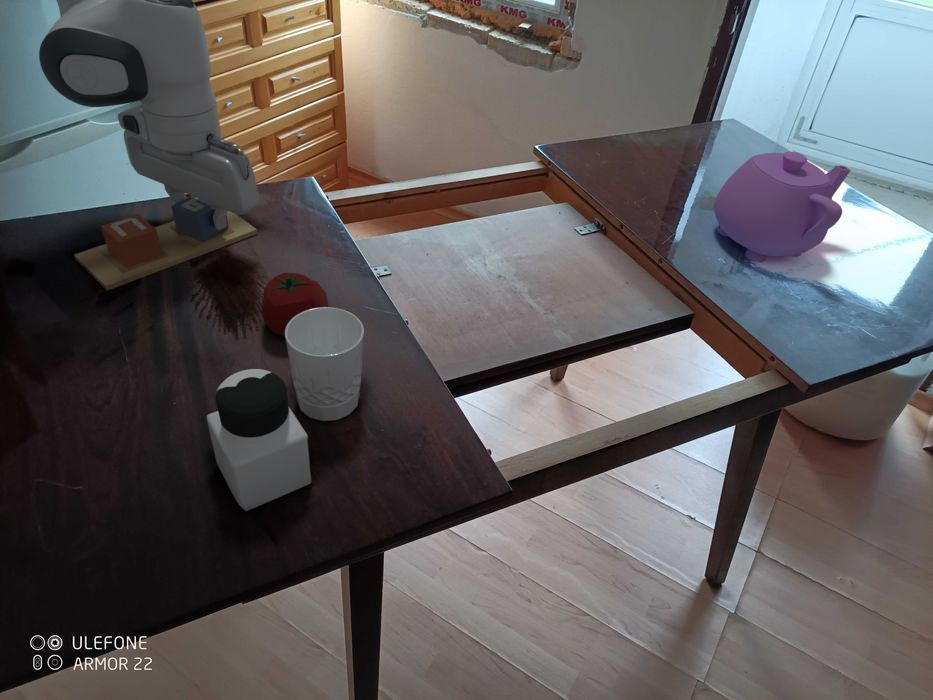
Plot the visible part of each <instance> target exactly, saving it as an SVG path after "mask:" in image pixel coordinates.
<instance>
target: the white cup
mask: <svg viewBox="0 0 933 700" xmlns="http://www.w3.org/2000/svg"><path fill="white" fill-rule="evenodd" d="M364 336H365V328H364V325H363V323H362V321H361V320H360V318H358V316H356V315H355V314H353V313H352V312H350V311H348V310H345V309H342V308H338V307H332V306H331V307H330V306H328V307H320V308H313V309H309V310H306V311H304V312H301V313H299V314H298V315H296V316H295V317H293V318H292V319H291V320H290V321H289V323H288V324H287V326H286V329H285V337H284V338H285V343H286V349H287V355H288V362H289V368H290V372H291V373H290V374H291V378H292V383H293V384H292V385H293V388H294V390H295V395H296V401H297V404H298V407H299V410H300V411H301V412H302V413H303V414H304V415H306V416H307V417H308V418H310V419H314V420H317V421H321V422H331V421H338V420H341V419H343V418H345V417H347V416H350V414H352V412H353V411H355V409H356V408H357V407H358V405H359V401H360V400H359V399H360V395H361V394H360V393H361V392H360V391H361V385H362V374H363V373H362V372H363V362H364V361H363V356H364V339H365V337H364Z"/></svg>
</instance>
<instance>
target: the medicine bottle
mask: <svg viewBox="0 0 933 700" xmlns="http://www.w3.org/2000/svg"><path fill="white" fill-rule="evenodd" d="M288 396H289V395H288V390H287V384H286V382H285V381H284V380H283V379H282V377H281V376H279V375H278V374H276V373H274V372H272V371H270V370H266V369H261V368H249V369H244V370H240V371H238V372H235V373H232V374H231V375H229V376H228V377H227V378H225V379H224V380H223V381H222V382H221V383H220V384H219V386H218V387H217V389H216V392H215V402H216V403H215V404H216V407H217V411H213V412H211V413H209V414H207V415H206V421H207V426H208V431H209V435H210V439H211V444H212V449H213V453H214V458H215V461H216V465H217V467H218V468H219V470H220V472H221V475H222V477H223V478H224V481H225V482H226V484H227V486H228V488H229V491H230V492H231V494H232V496H233V498H234V500H235V502H236V503H237V504H238V505H239V506H240V508H242V510H244V512H248V511H251V510H253V509H256V508H258V507H260V506H262V505H265V504H267V503H269V502H272V501H274V500H276V499H278V498H281V497H283V496H285V495H288V494H291V493H292V492H295V491H297V490H299V489H301V488H304V487H307V486H308V485H310V484H311V483H312V481H313V479H312V467H311V455H310V443H309V435H308V433H307V432H306V431H305V429H304V428H303V426H302V424H301V423H300V421H299V420H298V419H297V416H296V415H295V413H294V412H293V411H292V409H291V408H290V405H289V399H288V398H289V397H288Z"/></svg>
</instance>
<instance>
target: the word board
mask: <svg viewBox="0 0 933 700" xmlns="http://www.w3.org/2000/svg"><path fill="white" fill-rule="evenodd" d="M227 220H228V226H229V227H228V228H227V229H225V230H223V231H222V232H220V233H218V234H216V235H215V236H213V237H211V238H210V239H208V240H206V241H204V242H201V241H199V240H197V239H194V238H192V237H190V236H187V235H185V234H183V233H181V232H178V231H177V230H176V225H175V220H173V221H170V222H167V223H164V224H161V225H158V226H154V228H155V229H156V230H157V234H158V239H159V243H160V247H161V251H162V255H161V256H158V257H155V258H152V259H150V260H147V261H144V262H141V263H139V264H136V265H133V266H130V267H128V268H126V267H125V266H124V265H123V264H121V263H120V262H119V261H118V260H117V259H116V258H115V257H114V256H113V255H112V254H111V253H110V252H109V251H108V248H107V245H106V243H105V244H101V245H98V246H95V247H93V248H90V249H86V250H84V251H81V252H78V253H75V254H73V255H74V259H75V261H76V262H78V263H79V265H80V266H82V268H84V270H86V271H87V272H88V273H89V275H91V276H92V277H93V279H95V280H96V281H97V282H98V283H99V284H100V285H101V286H102V287H103V288H104V289H105V291H110V290H113V289H116V288H118V287H121V286H124V285H126V284H128V283H132V282H134V281H137V280H139V279H142V278H145V277H147V276H150V275H153V274H155V273H158V272H161V271H164V270H165V269H168V268H171V267H174V266H176V265H179V264H181V263H185V262H187V261H189V260H192V259H195V258H197V257H201V256H204V255H205V254H208V253H210V252H213V251H216V250H218V249H221V248H224V247H227V246H229V245H232V244H235V243H237V242H240V241H243V240H245V239H248V238H250V237H253V236H256V235H258V229H257V228H255V227H254V226H253V225H251V224H250V223H249V222H247V221H246V220H245V219H243V218H242V217H241V216H240V215H238V214H235V213H233V212H230V211H228V212H227Z"/></svg>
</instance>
